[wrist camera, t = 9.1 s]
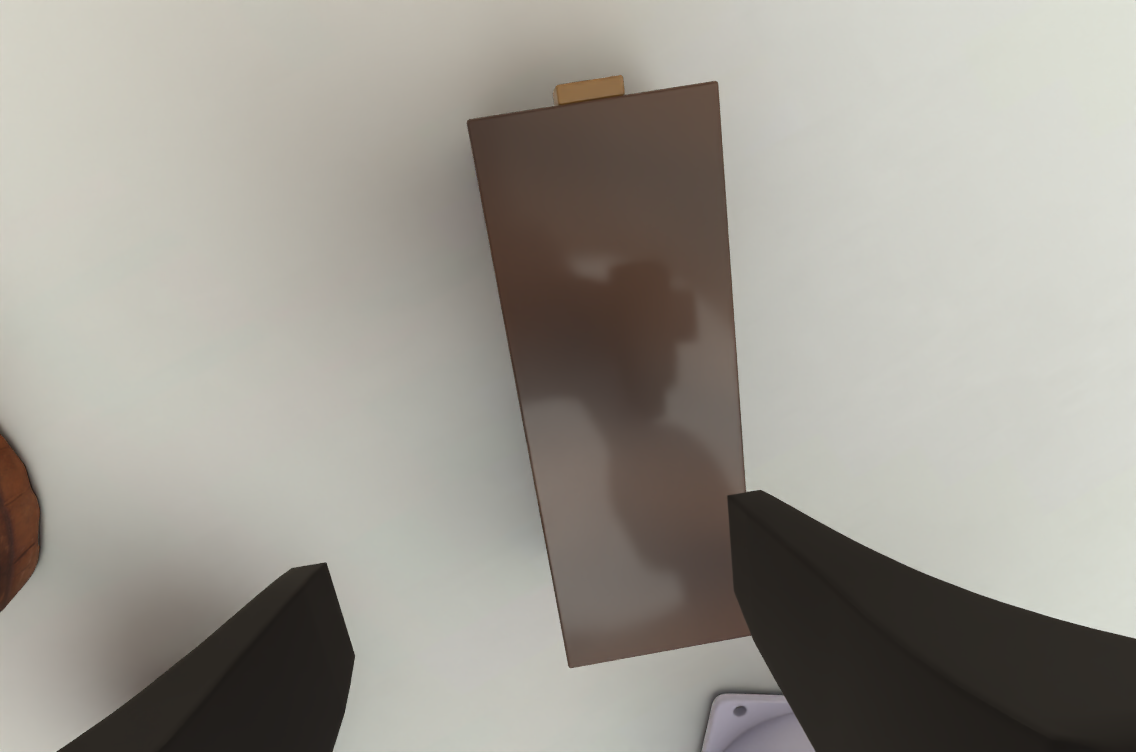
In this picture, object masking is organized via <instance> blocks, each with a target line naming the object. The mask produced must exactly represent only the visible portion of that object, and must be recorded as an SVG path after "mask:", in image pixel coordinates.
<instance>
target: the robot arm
mask: <svg viewBox="0 0 1136 752" xmlns="http://www.w3.org/2000/svg"><path fill="white" fill-rule="evenodd" d="M727 500H728V514H729V529H730V543H731V558H732V572H733V587H734V593H735V595H736V598H737V600H738V603H739V606H740V608H741V611H742V613H743V616H744V618H745V621H746V623H747V626H748V628H749V630H750V633H751V635H752V638H753V640H754V642H755V644H756V646H757V648H758V650H759V651H760V653H761V655H762V657H763V659H764V661H765V662H766V664H767V666H768V668H769V670H770V671H771V673H772V675H773V677H774V679H775V680H776V682H777V684H778V686H779V688H780V689H781V691H782V693H783V695H762V694H728V693H727V694H721V695H719V696H717V697H716V698H715V699H714V701H713V703H712V707H711V712H710V716H709V721H708V725H707V730H706V734H705V738H704V743H703V747H702V752H1136V639H1135V638H1130V637H1126V636H1122V635H1118V634H1113V633H1109V632H1105V631H1101V630H1096V629H1092V628H1089V627H1085V626H1081V625H1077V624H1074V623H1070V622H1066V621H1062V620H1059V619H1055V618H1052V617H1048V616H1045V615H1042V614H1038V613H1035V612H1032V611H1029V610H1025V609H1022V608H1019V607H1016V606H1012V605H1009V604H1006V603H1003V602H1000V601H997V600H994V599H991V598H988V597H985V596H982V595H979V594H976V593H973V592H971V591H968V590H966V589H963V588H960V587H958V586H955V585H952V584H950V583H947V582H945V581H942V580H939V579H937V578H934V577H932V576H929V575H927V574H924V573H922V572H920V571H917V570H915V569H913V568H910V567H908V566H906V565H904V564H902V563H899V562H897V561H895V560H893V559H891V558H889V557H887V556H884V555H882V554H880V553H878V552H876V551H874V550H872V549H870V548H868V547H866V546H864V545H862V544H860V543H858V542H856V541H854V540H852V539H850V538H848V537H846V536H844V535H842V534H840V533H839V532H837V531H835V530H833V529H831V528H829V527H827V526H826V525H824V524H822V523H820V522H818V521H816V520H815V519H813V518H811V517H809V516H808V515H806V514H804V513H802V512H800V511H799V510H797V509H795V508H793V507H792V506H790V505H788V504H786V503H784V502H783V501H781V500H779V499H777V498H775V497H774V496H772V495H770V494H768V493H766V492H764V491H762V490H757V491H751V492H745V493H739V494H733V495H727ZM354 659H355V654H354V651H353V648H352V644H351V641H350V638H349V635H348V631H347V628H346V625H345V622H344V618H343V615H342V612H341V609H340V605H339V602H338V599H337V596H336V592H335V589H334V586H333V583H332V579H331V576H330V573H329V570H328V566H327V563H320V564H314V565H308V566H302V567H296V568H291V569H290V570H289V571H287V572H286V573H284V574H283V575H282V576H280V577H279V578H278V579H277V580H275V581H274V582H273V583H272V584H270V585H269V586H268V587H267V588H266V589H264V590H263V591H262V592H261V593H260V594H258V595H257V596H256V597H255V598H254V599H253V600H251V601H250V602H249V603H248V604H247V605H246V606H244V607H243V608H242V609H241V610H240V611H239V612H237V613H236V614H235V615H234V616H233V617H232V618H230V619H229V620H228V621H227V622H226V623H225V624H223V625H222V626H221V627H220V628H219V629H217V630H216V631H215V632H214V633H213V634H212V635H210V636H209V637H208V638H207V639H206V640H205V641H203V642H202V643H201V644H200V645H199V646H197V647H196V648H195V649H194V650H193V651H191V652H190V653H189V654H188V655H186V656H185V657H184V658H183V659H181V660H180V661H179V662H178V663H176V664H175V665H174V666H173V667H171V668H170V669H169V670H168V671H166V672H165V673H164V674H163V675H161V676H160V677H159V678H158V679H156V680H155V681H154V682H153V683H151V684H150V685H149V686H148V687H146V688H145V689H144V690H143V691H141V692H140V693H139V694H137V695H136V696H135V697H133V698H132V699H131V700H129V701H128V702H127V703H125V704H124V705H123V706H121V707H120V708H119V709H117V710H116V711H114V712H113V713H112V714H110V715H109V716H108V717H106V718H105V719H103V720H102V721H101V722H99V723H98V724H96V725H95V726H93V727H92V728H90V729H89V730H88V731H86V732H85V733H83V734H82V735H80V736H79V737H77V738H76V739H75V740H73V741H72V742H70V743H69V744H67V745H66V746H64V747H63V748H61V749H60V750H58V751H57V752H332V751H333V748H334V745H335V742H336V739H337V736H338V733H339V729H340V726H341V723H342V720H343V716H344V713H345V708H346V703H347V698H348V694H349V689H350V683H351V677H352V671H353V665H354ZM738 706H741V707H739V708H736V707H738Z"/></svg>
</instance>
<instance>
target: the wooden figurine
mask: <svg viewBox="0 0 1136 752" xmlns="http://www.w3.org/2000/svg"><path fill="white" fill-rule="evenodd" d="M39 517H40V509H39V505H38V501H37V497H36V496H35V494H34V493H33V491H32V488H31V486H30V482H29V479H28V475H27V471H26V468H25V466H24V464H23V463H22V462H21V460H20V459H19V457H18V456H17V455H16V453H15V452H14V451H13V449H12V448H11V447H10V446H9V444H8V443H7V441H6V440H5V439H4V437H3V436H2V435H1V434H0V612H1V611H2V610H3V609H4V608H5V607H6V606H7V605H8V603H9V602H10V601H11V600H12V599H13V598H14V596H15V595H16V594H17V593H18V591H19V590H20V589H21V588H22V587H23V586H24V584H25V583H26V582H27V581H28V579H29V578H30V577H31V575H32V574H33V572H34V570H35V568H36V565H37V563H38V558H39V548H40V546H39V545H38V527H39Z"/></svg>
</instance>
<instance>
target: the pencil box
mask: <svg viewBox="0 0 1136 752" xmlns="http://www.w3.org/2000/svg"><path fill="white" fill-rule="evenodd" d="M624 94H625V90H624V81H623V76H622V75H617V76H611V77H605V78H598V79H592V80H585V81H579V82H572V83H566V84H559V85H557V86H556V87H555V89H554V91H553V100H554V106H551V107H545V108H538V109H532V110H525V111H519V112H512V113H506V114H500V115H493V116H487V117H480V118H474V119H469V120H467V127H468V132H469V138H470V143H471V148H472V154H473V159H474V164H475V170H476V175H477V180H478V186H479V191H480V196H481V202H482V207H483V213H484V218H485V223H486V229H487V234H488V239H489V245H490V250H491V255H492V261H493V266H494V271H495V277H496V282H497V287H498V293H499V298H500V303H501V309H502V314H503V319H504V325H505V330H506V335H507V341H508V346H509V351H510V357H511V362H512V367H513V373H514V378H515V383H516V389H517V394H518V400H519V405H520V410H521V416H522V421H523V426H524V432H525V437H526V442H527V448H528V453H529V458H530V464H531V469H532V474H533V480H534V485H535V490H536V496H537V501H538V506H539V512H540V517H541V522H542V528H543V533H544V538H545V544H546V549H547V554H548V560H549V565H550V570H551V576H552V581H553V586H554V592H555V597H556V603H557V608H558V613H559V619H560V624H561V629H562V635H563V640H564V645H565V651H566V656H567V661H568V666H569V668H574V667H580V666H585V665H591V664H596V663H602V662H608V661H613V660H619V659H624V658H630V657H635V656H641V655H646V654H652V653H657V652H663V651H668V650H674V649H679V648H685V647H690V646H696V645H702V644H707V643H713V642H718V641H724V640H729V639H735V638H740V637H746V636H751V633H750V630H749V628H748V626H747V623H746V621H745V618H744V616H743V613H742V611H741V608H740V606H739V603H738V600H737V598H736V595H735V593H734V587H733V572H732V558H731V543H730V529H729V514H728V500H727V495H733V494H739V493H745V492H746V485H745V470H744V456H743V441H742V426H741V412H740V397H739V382H738V367H737V353H736V338H735V323H734V309H733V294H732V279H731V265H730V250H729V235H728V221H727V206H726V191H725V176H724V162H723V147H722V132H721V118H720V103H719V88H718V82H717V81H711V82H705V83H698V84H692V85H686V86H679V87H673V88H666V89H660V90H654V91H647V92H641V93H634V94H628V95H624Z"/></svg>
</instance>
